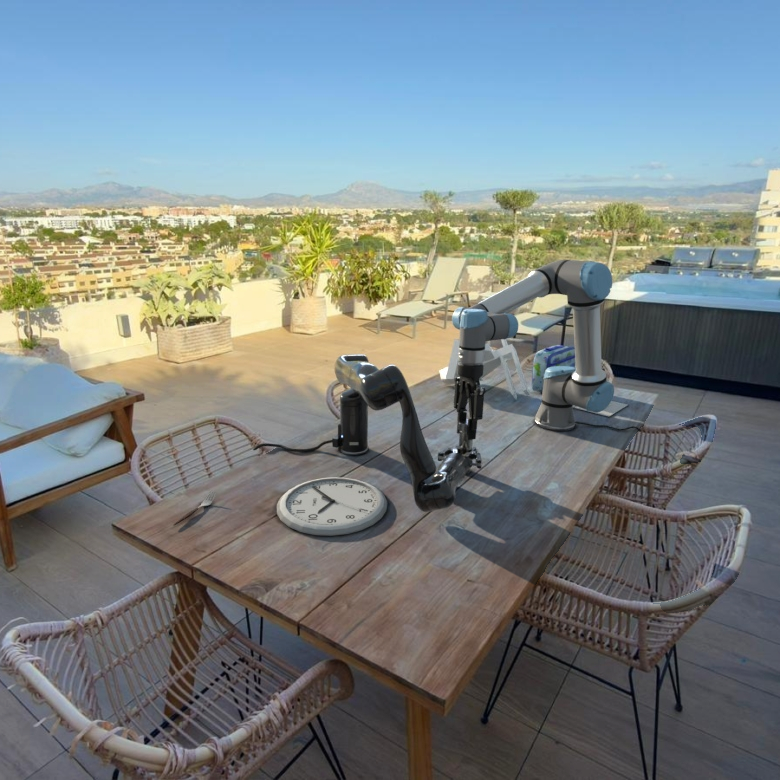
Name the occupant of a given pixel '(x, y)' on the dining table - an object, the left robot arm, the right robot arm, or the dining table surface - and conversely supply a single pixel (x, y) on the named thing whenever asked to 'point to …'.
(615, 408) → the invitation card
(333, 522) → the wall clock
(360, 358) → the left robot arm
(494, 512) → the dining table surface
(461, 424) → the lid
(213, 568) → the dining table surface
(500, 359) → the white plastic object
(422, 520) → the dining table surface
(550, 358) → the lunch box
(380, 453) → the dining table surface
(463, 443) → the silver metal cylinder
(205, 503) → the fork
